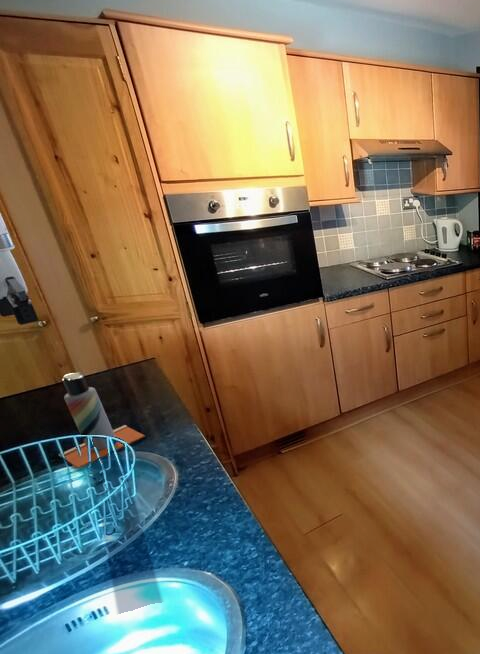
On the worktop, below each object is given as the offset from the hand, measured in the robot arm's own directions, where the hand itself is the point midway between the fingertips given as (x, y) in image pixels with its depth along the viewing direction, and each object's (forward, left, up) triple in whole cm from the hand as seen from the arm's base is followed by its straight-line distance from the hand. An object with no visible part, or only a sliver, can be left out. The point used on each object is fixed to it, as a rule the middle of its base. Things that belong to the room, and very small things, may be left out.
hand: (20, 318), depth 102 cm
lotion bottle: (+2, -8, -34) cm, 35 cm away
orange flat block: (+2, -9, -34) cm, 35 cm away
